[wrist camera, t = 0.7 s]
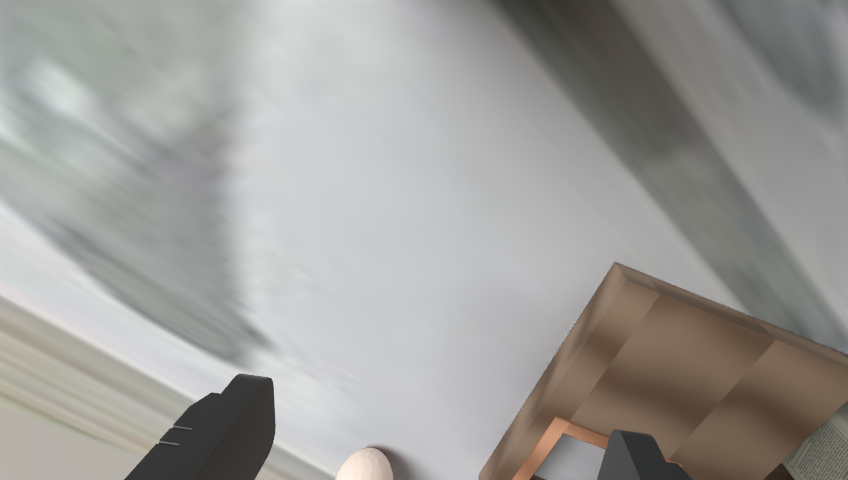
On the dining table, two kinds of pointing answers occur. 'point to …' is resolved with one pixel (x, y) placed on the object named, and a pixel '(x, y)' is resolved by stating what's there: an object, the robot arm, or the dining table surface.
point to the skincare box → (823, 451)
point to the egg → (366, 466)
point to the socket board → (677, 385)
